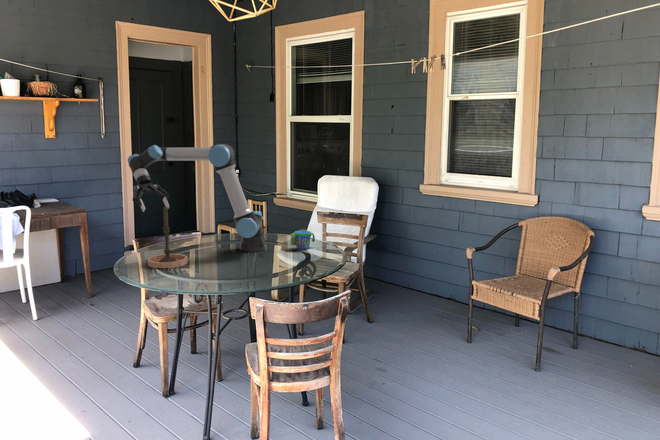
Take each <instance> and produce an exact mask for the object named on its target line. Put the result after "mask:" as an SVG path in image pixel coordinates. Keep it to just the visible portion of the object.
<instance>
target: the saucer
mask: <svg viewBox="0 0 660 440" xmlns="http://www.w3.org/2000/svg"><path fill="white" fill-rule="evenodd" d="M169 255H170V256H171V257H173V258H174V259H176V260H177V261H175V262H163V263H161V262H159V261H160V260H161V259H162V258H164V257H165V256H166V254H165V253H163V254H157V255H156V254H155V255H152V256H150V257H148V259H147V266H148V267H150V268H151V269H152V268H153V269H157V268H163V269H162V270H166V269H165V268H169V269H176V268H175V267H177V268H180V266H181V267H185V266H186V265H188V256H187V255H185V254H182V253H181V254H179V253H169Z"/></svg>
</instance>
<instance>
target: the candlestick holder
mask: <svg viewBox="0 0 660 440" xmlns="http://www.w3.org/2000/svg"><path fill="white" fill-rule="evenodd" d="M162 209H163V212H162V213H163V227H162V230H163V231H162V232H163V234H165V235H164V243H165V248H164V249H163V252H164V253H163V254H166V256H165V257H164V258H162V259H161V260H160V261H159V262H161V263H163V262H175V261H177V260H176V259H174V258H173V257H171V256H170V255H169V254H171V250H172V249H171V248H170V247H169V246H170V245H169V239H170V236H169V234H170V233H171V230H170V229H171V227H170V226H169V214H168V212H169V208H168V207H166V206H164V207H162Z"/></svg>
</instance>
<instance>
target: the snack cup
mask: <svg viewBox="0 0 660 440" xmlns="http://www.w3.org/2000/svg"><path fill="white" fill-rule="evenodd" d="M311 237H312V239H311ZM294 238H295V245H296V249H297V250H309V248H310V244H311V242H312V243H314V242H315V240H316V238H315V234H314V232H312V231H310V230H296V231H294V232H293V234H292V236H291V238H290V244H291V245H294Z"/></svg>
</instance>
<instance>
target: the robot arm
mask: <svg viewBox="0 0 660 440" xmlns="http://www.w3.org/2000/svg"><path fill="white" fill-rule="evenodd" d="M235 153H236V152H235V150H234V148H233V147H232V146H230V145H229V144H226V143H223V144H222V143H220V144H216V145H211V146H210V147H208V146H207V147H200V146H199V147H162V146H161V147H160V146H158V145H156V144H153V145H151V146H149V147H148V148H147V149H145V150H144V151H143V152H142V153H140V154H138V153H134V154H131V155H130V156H128V157H127V164H128V167H129V168H130V170H131V173H132V175H133V177H134V179H135V182H136V184H134V185H133V195H132V202H135V203H136V204H137V205H138V207H140V209H141V210H142V212H143V213H144V212H145V210H146V209H147V208H146V207H145V203H144V202H143V200H142V196H143V194H144V193H145V194H148V193H149V194H150V193H152V194H154V195H156V196H158V197H160V198H161V199H162V203H163V204H164V207H168V209H170V204H169V199H168V198H170V194H169V192H167V191H166V190H165V189H164V188H163V187H161V186H160V184H159V183H158V182H157V183H156V184H153V181H152V178H151V176H150V174H149V172H148V170H147V168H148V166H150V165H152V164H153V163H155V162H159V161H162V162H163V161H165V162H167V161H168V162H169V161H170V162H173V161H185V162H186V161H187V162H189V161H194V162H195V161H197V162H199V161H202V162H203V161H204V162H205V161H209V163H210V164H211V165H213V167H214V170H215V172H216V173H218V174H219V175H220V178H221V180H222V183H223V187H224V189H225V191H226V194H227V197H228V199H229V202H230V204H231V207H232V210H233V212H234V216H233V220H234V223H235V230H236V233H237V234H238V235H239V236H240V237H241V240H240V243H239V251H241V252H245V253H257V252H263V251H265V250H266V244H265V241H264V238H263V215H262V214H263V213H262V211H260V210H259V211H255V210H253V209H251V208H250V207H249V203H248V202H247V201H248V200H247V199H246V197H245V194H244V191H243V188H242V185H241V183H240V180H239V177H238V174H237V172H236V169H235V168H236V166H237V165H236V161H235V156H236V155H235ZM138 190H140V193H139V194H138ZM137 194H138V196H137Z"/></svg>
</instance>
